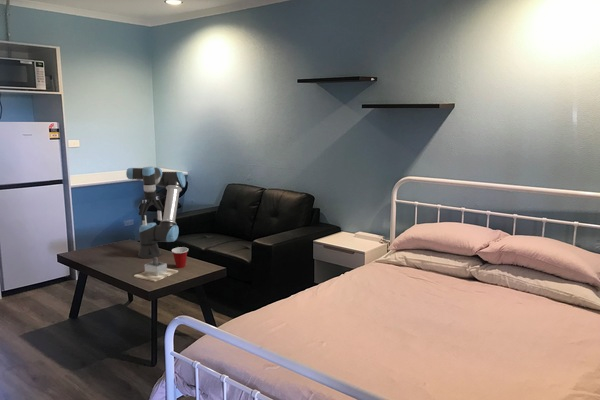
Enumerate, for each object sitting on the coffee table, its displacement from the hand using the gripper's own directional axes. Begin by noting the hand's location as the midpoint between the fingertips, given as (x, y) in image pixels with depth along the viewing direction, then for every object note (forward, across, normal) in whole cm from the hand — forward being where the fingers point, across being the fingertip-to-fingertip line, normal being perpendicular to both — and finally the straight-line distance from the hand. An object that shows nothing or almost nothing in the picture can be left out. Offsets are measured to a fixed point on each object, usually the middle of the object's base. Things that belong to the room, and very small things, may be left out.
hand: (152, 222), depth 310 cm
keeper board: (+29, -13, -13) cm, 35 cm away
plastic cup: (+30, +6, -17) cm, 35 cm away
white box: (+28, -13, -13) cm, 34 cm away
